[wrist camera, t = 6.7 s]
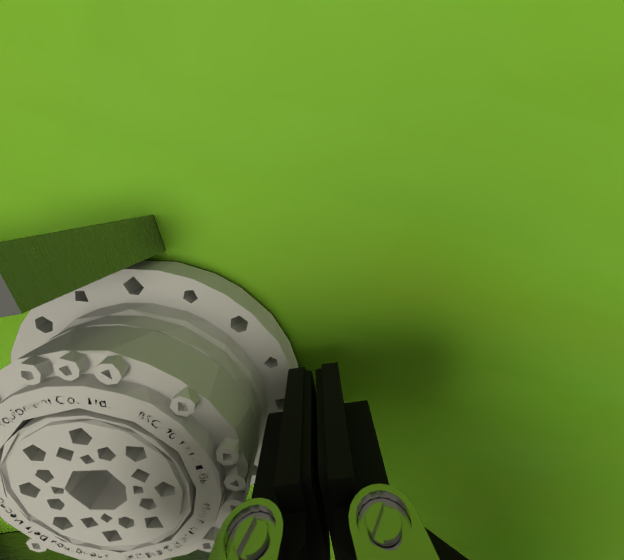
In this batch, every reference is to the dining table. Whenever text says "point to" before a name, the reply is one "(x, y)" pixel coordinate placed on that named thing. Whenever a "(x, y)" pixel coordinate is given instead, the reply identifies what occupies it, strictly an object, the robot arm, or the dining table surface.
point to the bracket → (62, 280)
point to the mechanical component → (137, 413)
